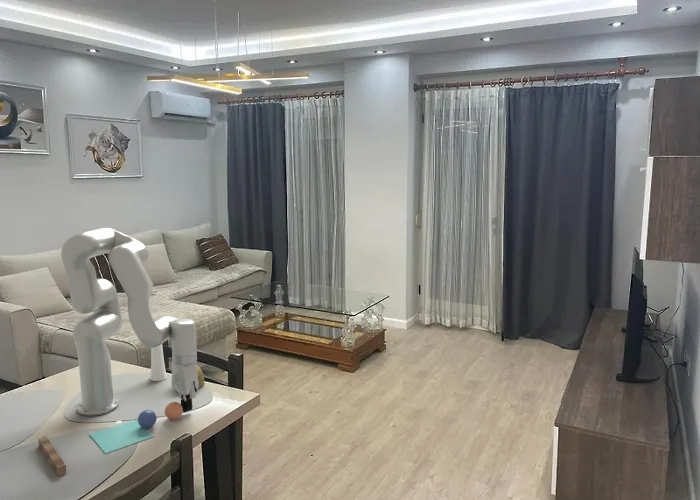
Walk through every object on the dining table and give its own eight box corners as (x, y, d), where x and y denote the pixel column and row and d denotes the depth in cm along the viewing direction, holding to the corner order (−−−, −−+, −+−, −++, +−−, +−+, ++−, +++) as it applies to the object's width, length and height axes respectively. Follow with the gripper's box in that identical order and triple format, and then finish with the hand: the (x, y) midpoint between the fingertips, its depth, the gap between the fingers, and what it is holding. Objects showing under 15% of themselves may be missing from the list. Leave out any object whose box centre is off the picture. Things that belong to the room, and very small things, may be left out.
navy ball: (135, 426, 168) (134, 410, 167) (152, 421, 172) (151, 405, 171) (142, 433, 164) (141, 416, 163) (159, 427, 168) (158, 411, 167)
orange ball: (180, 407, 178) (166, 419, 175) (172, 395, 175) (158, 408, 172) (188, 413, 174) (175, 425, 171) (181, 401, 171) (167, 414, 168)
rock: (190, 401, 194) (203, 379, 192) (165, 384, 195) (178, 362, 193) (202, 392, 203) (214, 370, 202) (177, 375, 204) (190, 354, 202)
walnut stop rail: (39, 446, 157) (38, 438, 156) (46, 443, 158) (45, 436, 158) (58, 476, 142) (57, 467, 142) (66, 473, 144) (65, 465, 143)
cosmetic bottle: (153, 374, 208) (150, 320, 204) (169, 375, 208) (166, 320, 204) (147, 381, 202) (143, 325, 198) (163, 381, 202) (160, 325, 198)
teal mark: (89, 435, 163) (89, 434, 163) (135, 420, 173) (135, 419, 172) (105, 453, 153) (105, 453, 153) (153, 437, 162) (153, 436, 162)
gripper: (163, 353, 176) (165, 406, 180) (184, 367, 166) (187, 422, 169) (184, 348, 181) (186, 399, 185) (206, 361, 171) (208, 414, 174)
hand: (186, 410), depth 177 cm, fingers closed
